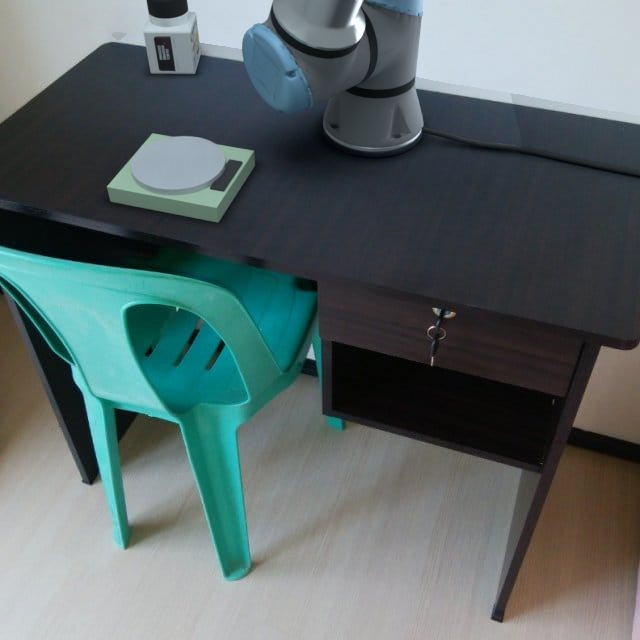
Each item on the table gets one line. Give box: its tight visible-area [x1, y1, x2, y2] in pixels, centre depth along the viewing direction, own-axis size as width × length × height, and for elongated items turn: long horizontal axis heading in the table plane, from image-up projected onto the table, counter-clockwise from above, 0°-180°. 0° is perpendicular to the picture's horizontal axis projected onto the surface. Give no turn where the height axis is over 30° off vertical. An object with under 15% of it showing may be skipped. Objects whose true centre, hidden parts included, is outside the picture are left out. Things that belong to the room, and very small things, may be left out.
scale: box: [106, 132, 256, 223], centre depth 105 cm, size 16×14×4 cm
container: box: [143, 0, 202, 75], centre depth 126 cm, size 8×8×13 cm
